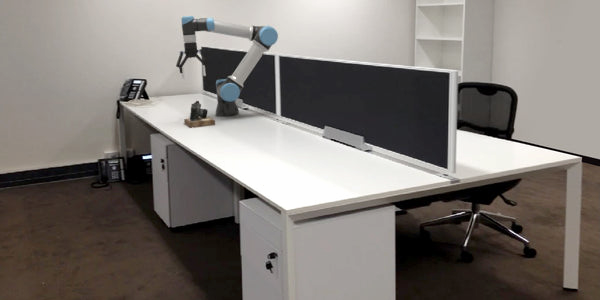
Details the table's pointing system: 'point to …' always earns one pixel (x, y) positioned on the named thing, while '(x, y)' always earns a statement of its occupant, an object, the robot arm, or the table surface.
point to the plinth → (199, 122)
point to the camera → (197, 111)
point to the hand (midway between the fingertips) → (194, 77)
